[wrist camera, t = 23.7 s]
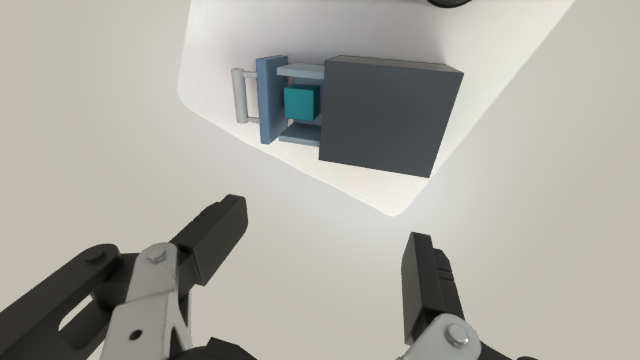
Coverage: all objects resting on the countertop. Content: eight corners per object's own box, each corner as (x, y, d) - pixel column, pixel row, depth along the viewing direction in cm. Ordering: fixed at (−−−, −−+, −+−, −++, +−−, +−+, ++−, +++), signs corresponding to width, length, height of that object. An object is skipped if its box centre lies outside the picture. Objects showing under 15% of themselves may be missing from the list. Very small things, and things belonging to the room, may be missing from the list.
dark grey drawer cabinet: (332, 136, 39) (318, 160, 32) (339, 55, 33) (324, 60, 26) (421, 149, 37) (429, 178, 29) (446, 64, 31) (464, 73, 23)
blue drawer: (253, 123, 41) (228, 138, 34) (247, 52, 35) (217, 55, 29) (358, 138, 38) (351, 158, 31) (369, 63, 32) (364, 69, 26)
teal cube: (293, 111, 37) (285, 118, 34) (292, 83, 35) (283, 87, 32) (319, 114, 36) (313, 121, 33) (320, 85, 34) (313, 90, 31)
